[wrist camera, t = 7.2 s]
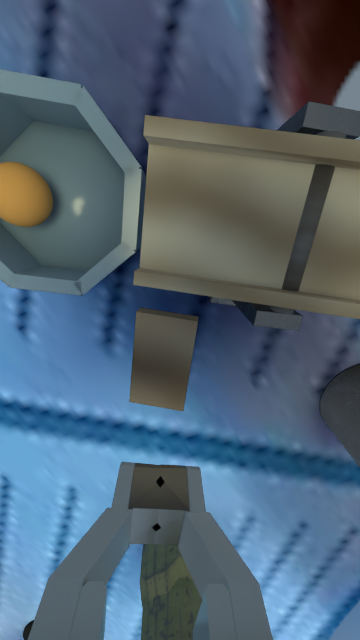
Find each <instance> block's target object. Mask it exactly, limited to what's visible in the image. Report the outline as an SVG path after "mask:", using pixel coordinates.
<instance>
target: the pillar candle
mask: <svg viewBox="0 0 360 640" xmlns="http://www.w3.org/2000/svg"><path fill="white" fill-rule="evenodd" d="M319 407H320V414H321V417H322V418H323V420H324V422H325V423H326V425H327V426H328V427H329V428H330V429H331V431H332V432H333V433H334V434H335V436H336V437H337V439H338V440H339V441H340V442H341V444H342V445H343V446H344V447H345V449H346V450H347V451H348V453H349V454H350V455H351V457H352V458H353V459H354V460H355V462H356V463H357V464H358V465H359V467H360V364H359V365H356V366H352V367H350V368H348V369H346V370H344V371H343V372H341V373H340V374H339V375H338V376H336V377H335V378H334V379H333V380H332V381H331V382H330V383H329V384H328V385H327V387H326V388H325V390H324V392H323V394H322V396H321V400H320V406H319Z"/></svg>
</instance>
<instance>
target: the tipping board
mask: <svg viewBox="0 0 360 640" xmlns="http://www.w3.org/2000/svg"><path fill="white" fill-rule="evenodd" d="M143 136H144V137H145V139H146V140H147V142H148V143H149V149H148V163H147V176H146V189H145V202H144V216H143V229H142V242H141V255H140V268H138V269H137V270H135V271H134V281H133V285H138V286H145V287H151V288H158V289H164V290H171V291H178V292H184V293H191V294H197V295H204V296H211V297H217V298H224V299H230V300H237V301H244V302H250V303H257V304H263V305H270V309H271V310H273V311H275V312H279V313H283V314H293V312H294V309H296V310H303V311H310V312H316V313H323V314H329V315H336V316H343V317H349V318H356V319H360V140H353V139H345V138H346V134H345V133H343V132H340V131H324V132H320V133H318V134H316V135H310V134H302V133H293V132H285V131H276V130H268V129H259V128H251V127H242V126H234V125H225V124H217V123H208V122H200V121H191V120H183V119H174V118H166V117H157V116H149V115H145V121H144V135H143ZM197 325H198V316H192V315H185V314H179V313H173V312H166V311H160V310H153V309H147V308H141V307H140V308H139V309H138V310H137V311H136V321H135V334H134V348H133V361H132V374H131V387H130V400H129V402H133V403H139V404H145V405H151V406H156V407H162V408H168V409H173V410H179V411H183V409H184V403H185V397H186V391H187V385H188V379H189V373H190V367H191V361H192V355H193V349H194V343H195V337H196V331H197Z"/></svg>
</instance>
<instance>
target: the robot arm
mask: <svg viewBox="0 0 360 640" xmlns="http://www.w3.org/2000/svg"><path fill="white" fill-rule="evenodd" d="M129 544H161V545H176V546H178V548H179V550H180V553H181V555H182V557H183V559H184V561H185V564H186V566H187V568H188V570H189V572H190V574H191V577H192V579H193V581H194V583H195V585H196V587H197V590H198V592H199V594H200V596H201V598H202V603H201V606H200V609H199V612H198V616H197V619H196V622H195V625H194V628H193V631H192V632H193V640H273V638H272V634H271V630H270V626H269V622H268V618H267V614H266V610H265V606H264V602H263V598H262V594H261V590H260V586H259V583H258V581H257V580H256V579H255V577H254V576H253V574H252V573H251V571H250V570H249V568H248V567H247V566H246V564H245V563H244V561H243V560H242V558H241V557H240V555H239V554H238V553H237V551H236V550H235V548H234V547H233V545H232V544H231V543H230V541H229V540H228V538H227V537H226V535H225V534H224V532H223V531H222V530H221V528H220V527H219V525H218V524H217V522H216V521H215V519H214V518H213V517H212V515H211V514H210V513H208V512H206V510H205V503H204V495H203V487H202V479H201V471H200V468H199V467H193V466H180V465H152V464H141V463H129V462H121V465H120V468H119V473H118V478H117V483H116V488H115V493H114V498H113V503H112V508H107V509H106V510H105V511H104V512H103V514H102V515H101V516H100V517H99V518H98V520H97V521H96V522H95V523H94V524H93V526H92V527H91V528H90V529H89V530H88V532H87V533H86V534H85V535H84V536H83V538H82V539H81V540H80V541H79V542H78V544H77V545H76V546H75V547H74V548H73V550H72V551H71V552H70V553H69V554H68V556H67V557H66V558H65V559H64V560H63V562H62V563H61V564H60V565H59V566H58V568H57V569H56V570H55V571H54V572H53V574H52V575H51V576H50V577H49V579H48V582H47V585H46V588H45V591H44V593H43V596H42V599H41V602H40V605H39V608H38V611H37V614H36V617H35V620H34V623H33V625H32V628H31V631H30V634H29V637H28V640H103V639H104V632H105V616H106V598H107V587H106V584H107V582H108V581H109V579H110V577H111V576H112V574H113V572H114V571H115V569H116V567H117V566H118V564H119V562H120V561H121V559H122V557H123V555H124V554H125V552H126V550H127V549H128V547H129Z"/></svg>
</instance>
